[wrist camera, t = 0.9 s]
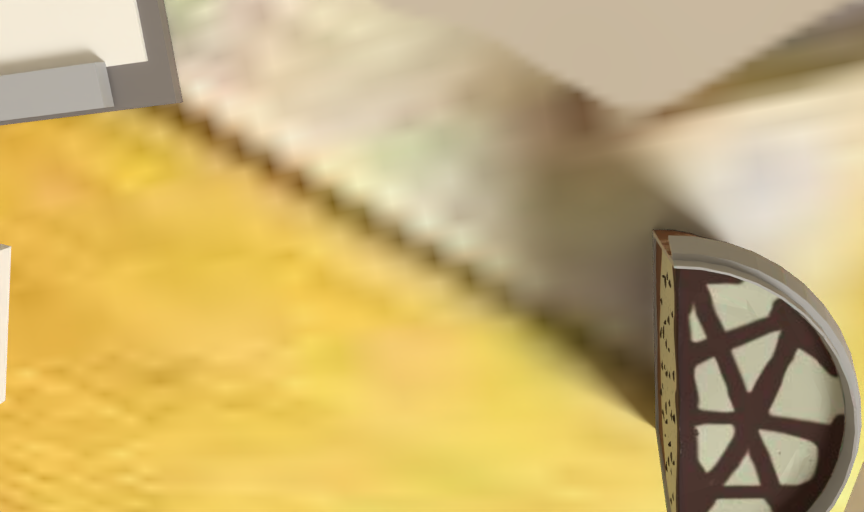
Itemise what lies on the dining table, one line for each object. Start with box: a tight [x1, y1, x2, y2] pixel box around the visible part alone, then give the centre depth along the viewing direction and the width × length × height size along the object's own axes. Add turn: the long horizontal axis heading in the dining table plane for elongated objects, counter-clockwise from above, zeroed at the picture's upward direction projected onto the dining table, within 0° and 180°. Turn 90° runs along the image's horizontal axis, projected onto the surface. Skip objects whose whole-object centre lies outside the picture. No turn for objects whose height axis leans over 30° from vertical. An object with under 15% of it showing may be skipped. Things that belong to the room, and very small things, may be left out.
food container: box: [653, 229, 861, 512], centre depth 32 cm, size 12×6×10 cm, turn 4°
